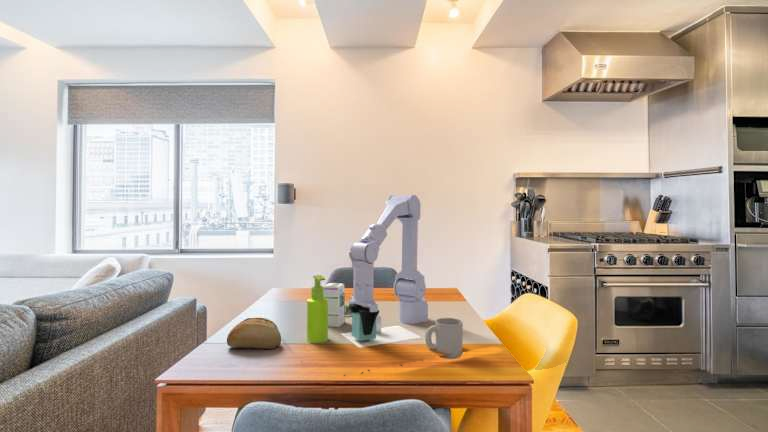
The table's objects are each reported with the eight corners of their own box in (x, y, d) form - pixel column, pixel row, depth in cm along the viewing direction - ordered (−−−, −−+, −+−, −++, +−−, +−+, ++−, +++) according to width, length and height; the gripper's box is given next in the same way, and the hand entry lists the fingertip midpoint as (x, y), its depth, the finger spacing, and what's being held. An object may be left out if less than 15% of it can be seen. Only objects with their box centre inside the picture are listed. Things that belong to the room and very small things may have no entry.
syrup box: (339, 331, 130) (340, 286, 130) (322, 330, 131) (322, 285, 131) (345, 326, 135) (345, 283, 135) (328, 325, 137) (328, 282, 136)
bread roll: (232, 342, 119) (232, 315, 119) (284, 341, 120) (284, 314, 120) (222, 353, 110) (222, 324, 110) (278, 352, 111) (278, 323, 111)
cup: (465, 358, 106) (465, 324, 106) (427, 359, 106) (427, 325, 106) (458, 349, 113) (458, 317, 113) (423, 350, 113) (423, 318, 113)
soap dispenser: (311, 350, 112) (311, 278, 112) (304, 343, 118) (304, 274, 118) (331, 347, 115) (332, 276, 114) (323, 340, 121) (323, 273, 120)
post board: (398, 329, 132) (398, 325, 132) (421, 342, 119) (421, 337, 119) (340, 338, 123) (340, 333, 123) (359, 353, 110) (359, 347, 110)
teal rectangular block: (368, 333, 120) (368, 311, 120) (375, 338, 115) (376, 315, 115) (351, 335, 117) (352, 312, 117) (359, 340, 113) (359, 316, 113)
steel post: (377, 330, 126) (377, 314, 126) (381, 332, 123) (381, 316, 123) (369, 331, 125) (369, 315, 125) (373, 334, 122) (373, 317, 122)
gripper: (341, 281, 121) (341, 327, 121) (361, 289, 108) (360, 340, 108) (362, 279, 124) (362, 324, 124) (384, 287, 111) (384, 337, 111)
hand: (363, 331), depth 116 cm, fingers closed on teal rectangular block, 5 cm apart
